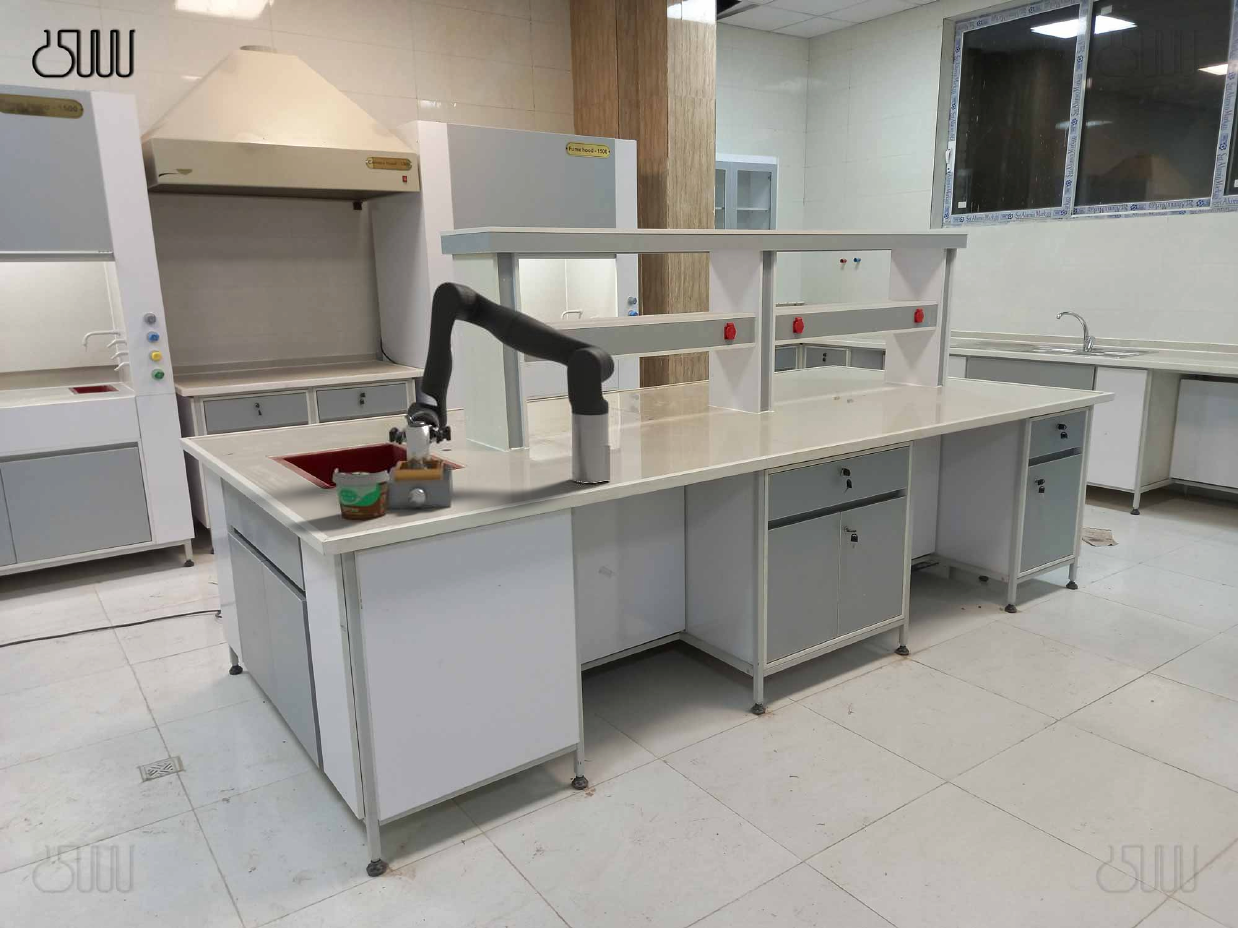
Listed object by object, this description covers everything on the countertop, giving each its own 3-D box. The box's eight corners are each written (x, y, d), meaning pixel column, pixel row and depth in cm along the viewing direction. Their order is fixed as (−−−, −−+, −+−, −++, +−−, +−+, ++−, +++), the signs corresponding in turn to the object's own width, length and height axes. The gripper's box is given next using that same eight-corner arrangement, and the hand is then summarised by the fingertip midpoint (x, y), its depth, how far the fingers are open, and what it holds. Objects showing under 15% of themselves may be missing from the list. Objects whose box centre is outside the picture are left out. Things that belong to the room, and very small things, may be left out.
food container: (324, 520, 180) (320, 474, 178) (338, 512, 186) (335, 467, 184) (379, 523, 178) (376, 476, 176) (391, 515, 184) (389, 470, 182)
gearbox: (452, 489, 206) (451, 457, 204) (449, 510, 188) (448, 475, 186) (393, 491, 204) (391, 459, 202) (384, 513, 186) (382, 477, 184)
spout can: (431, 470, 199) (429, 411, 196) (430, 475, 194) (427, 415, 191) (408, 471, 198) (405, 412, 195) (406, 476, 193) (403, 415, 190)
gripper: (392, 413, 210) (385, 424, 195) (451, 412, 212) (449, 423, 197) (394, 443, 212) (387, 456, 196) (453, 441, 214) (451, 454, 198)
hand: (418, 439), depth 197 cm, fingers open, 8 cm apart
